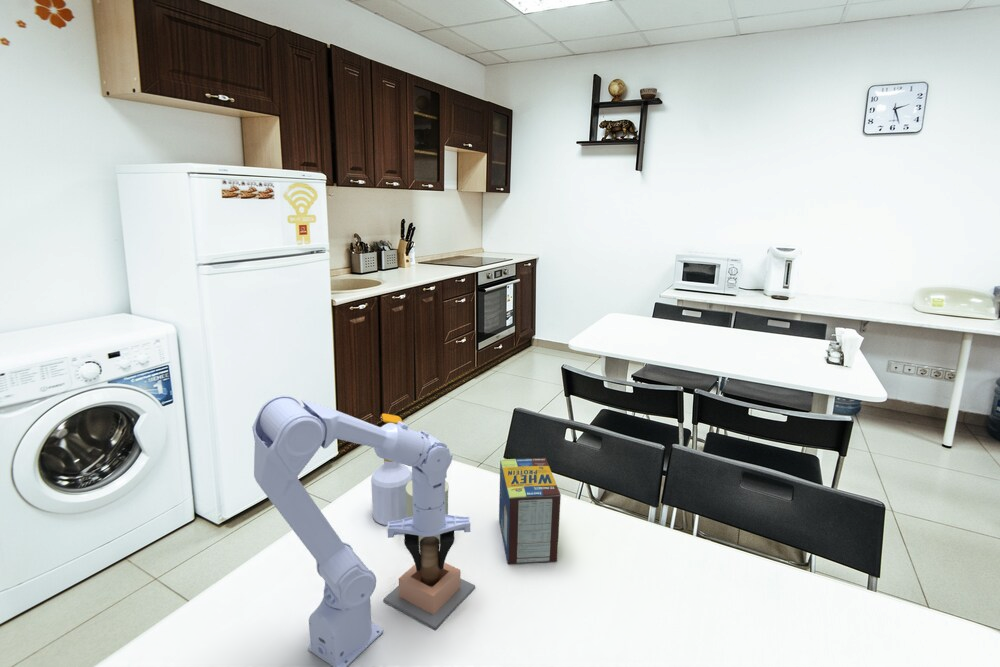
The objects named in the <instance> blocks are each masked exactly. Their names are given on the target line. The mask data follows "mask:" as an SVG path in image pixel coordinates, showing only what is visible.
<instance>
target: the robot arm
mask: <svg viewBox="0 0 1000 667" xmlns="http://www.w3.org/2000/svg"><path fill="white" fill-rule="evenodd" d="M300 401H301V403H303V406H302V405H301V403H300V402H299V401H298V400H297V399H296V398H294V397H292V396H290V395H278V396H275V397H272V398H270V399H267V401H266V402H265V403H264V404H263V405H262V407H261V408H260V410H259V412H258V414H257V416H256V418H255V420H254V422H253V425H252V426H251V428H252V433H253V438H254V455H253V456H254V457H253V458H254V459H253V460H254V461H253V462H254V463H253V464H254V465H253V477H254V480H255V482H256V483H257V485H258V486H259V487H260V489H261V490H262V492H263V493H264V494H265V495H266V497H267V498H268V499H269V501H270V502H271V503H272V505H273V506H274V507H275V509H276V511H278V513H279V514H280V515H281V517H282V518H283V519H284V520H285V522H286V523H287V524H288V525H289V527H290V528H291V529H292V531H293V532H294V533H295V535H296V536H297V537H298V539H299V540H300V541H301V542H302V544H303V546H304V547H305V548H306V549H307V551H308V552H309V553H310V555H311V556H312V557H313V558H314V559H315V563H316V572H317V573H318V575H319V576H320V577H321V578H322V579H323V580H324V587H323V597H322V600H321V602H320V604H319V605H318V606H317V608H316V609H315V610H314V611H313V612H312V613H311V614H310V616H309V617H308V631H309V644H307V649H308V651H310V652H311V653H313V654H314V655H316V656H317V657H319V658H320V659H321V660H323V661H324V662H326V663H328V664H329V665H330V666H332V667H348V666H349V665H350V664H351V663H353V661H354V660H356V658H357V657H358V656H359V655H361V654H362V653H363V652H364V651H365V650H366V649H367V648H368V647H369V646H370V645H371V644H372V643H374V641H375V640H376V639H378V637H380V635H382V634H383V633H384V628H382V627H381V626H379V625H377V624H376V623H375V622H372V609H371V608H372V606H371V597H372V595H373V594H374V591H375V589H376V587H377V576H376V575H375V574H374V572H373V571H372V570H371V569H369V567H367V566H366V564H365V563H364V561H363V560H361V558H360V557H359V555H357V554H356V552H355V551H354V549H353V547H352V546H351V545H350V544H349V543H347V542H345V541H342V539H341V538H340V536H339V535H338V534H337V532H336V531H335V529H334V528H333V526H332V525H331V524H330V522H329V521H328V519H327V518H326V516H325V515H324V513H323V512H322V511H321V509H320V508H319V506H318V505H317V504H316V503H315V501H314V499H313V498H312V497H311V495H310V494H309V492H308V491H307V489H306V488H305V486H304V485H303V484H302V482H301V481H300V479H299V478H298V477H299V475H300V474H301V472H302V471H303V470H304V469H305V467H306V466H307V465H308V463H309V462H310V461H311V460H312V458H314V456H315V455H316V453H317V452H319V449H320V448H321V447H322V448H323V449H327V448H328V447H330V445H332V443H333V442H334V441H336V440H341V441H345V442H348V443H354V444H358V445H362V446H367V447H371V448H373V450H374V452H375V455H376V456H377V457H379V458H380V459H383V460H384V459H386V460H390V461H393V462H397V463H400V464H403V465H405V466H406V467H411V473H412V494H413V516H412V517H409V518H405V519H401V520H398V521H392V522H388V525H387V538H388V539H389V538H395V536H400V535H401V536H402V535H404V545H405V548H406V550H408V552H409V554H410V555H411V557H412V559H413V562H414V565H416V571H420V546H419V536H425V537H430V536H436V535H439V534H440V544H439V568H440V569H443V567H444V562H445V561H446V558H447V556H448V553H449V552H450V549H451V548H452V547H453V545H454V542H455V532H456V531H457V532H458V531H463V532H464V533H470V532H471V519H470V518H471V517H470V516H459V515H453V514H448V515H447V514H445V480H446V478H447V477H448V476H447V474H448V473H447V472H448V469H449V468H450V466H451V464H452V461H453V454H451V453H450V448H449V447H448V445H447V444H446V443H444V442H442V441H441V440H439V439H438V438H436V437H435V436H434V435H432V434H430V433H428V432H427V431H426V430H419V431H416V430H414V429H410V428H409V425H408V424H406V423H405V422H403V421H402V422H400V421H399V422H398V423H397V424H394V423H385V424H384V425H382V426H378V425H375V424H373V423H370V422H367V421H365V420H362V419H360V418H357V417H354V416H352V415H350V414H347V413H344V412H342V411H340V410H337V409H334V408H331V407H328V406H325V405H322V404H319V403H316V402H313V401H311V400H306V399H300ZM445 563H446V562H445Z"/></svg>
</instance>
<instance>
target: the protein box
mask: <svg viewBox="0 0 1000 667" xmlns="http://www.w3.org/2000/svg"><path fill="white" fill-rule="evenodd" d="M499 462H500V465H499V497H498V498H499V499H498V500H499V504H498V505H499V506H498V521H499V526H500V532H501V537H502V543H503V547H504V553H505V554H504V555H505V558H506V564H507V565H520V564H536V563H553V562H554V563H555V562H558V554H559V553H558V549H559V533H560V532H559V531H560V519H561V518H560V514H561V501H562V500H561V499H562V498H561V496H562V494H561V492H560V490H559V487H558V485H557V483H556V480H555V477H554V474H553V473H552V470H551V468H550V465H549V463H548V461H547V458H546V457H536V458H510V459H509V458H508V459H507V458H505V459H504V458H503V459H500V460H499Z"/></svg>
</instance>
